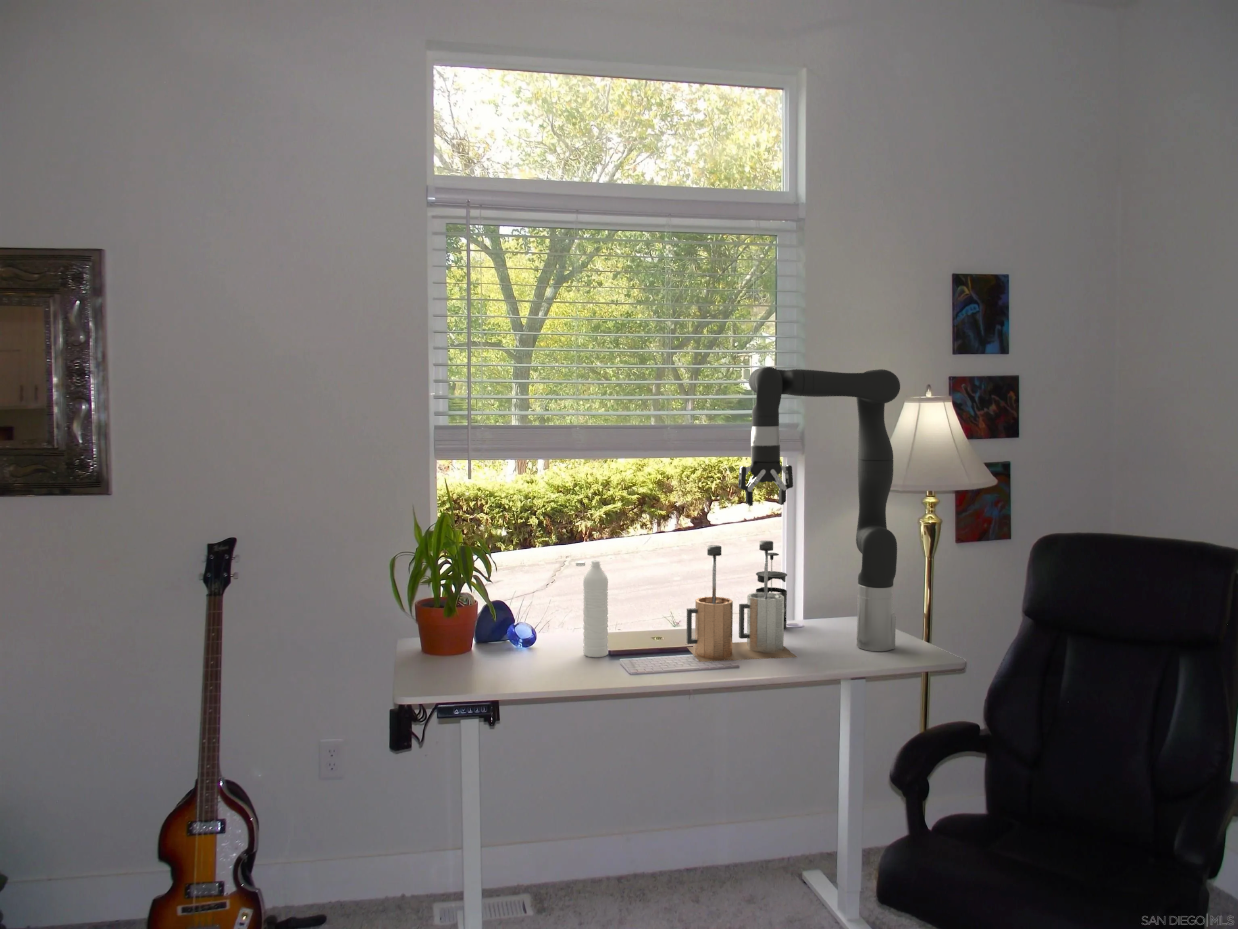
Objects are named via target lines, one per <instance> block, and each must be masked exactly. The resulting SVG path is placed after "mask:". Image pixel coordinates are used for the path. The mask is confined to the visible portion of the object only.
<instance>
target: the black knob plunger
mask: <svg viewBox="0 0 1238 929" xmlns="http://www.w3.org/2000/svg"><path fill="white" fill-rule="evenodd" d="M706 547H707V549H706V550H707V556H709V557H710V556H711V557H712V574H711V575H712V580H711V581H712V582H711V583H712V586H711V589H712V592H711V594H712V595H711V597H712V603H708V604H719V603H716V597H717V596H716V595H717V557H721V556H722V546H721V545H714V544H712V545H707V546H706Z"/></svg>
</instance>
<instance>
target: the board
mask: <svg viewBox="0 0 1238 929" xmlns="http://www.w3.org/2000/svg"><path fill="white" fill-rule="evenodd" d="M686 648H687V650H689V652H690V653H691V654H692V655H693V656H694V658H696V660H697V661H698V662H700V663H705V662H723V661H724V662H725V661H742V660H743V661H745V660H746V661H747V660H765V659H766V660H767V659H789V658H798V656H797V655H796V654H795V653H793V652H792V650H789V649H788V648H787V647H786V646H784V645H783V650H782V651H779V652H775V653H762V652H755V651H752V650H749V649H748V648H747V641H739V642H736V641H735V642H732V655H731V656H730V657H727V658H720V659H711V658H703V657H700V656H697V655H696V653H695V646H693V647H686Z"/></svg>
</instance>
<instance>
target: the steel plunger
mask: <svg viewBox="0 0 1238 929" xmlns="http://www.w3.org/2000/svg"><path fill="white" fill-rule="evenodd" d="M759 550H760V551H763V552H764V559H763V560H764V563H763V564H764V568H763V569H764V583H763V584H764V585H763V587H764V597H758V598H757V599H776V598H770V597H767V595H768V587H769V585H768V584H769V583H768V582H769V581H768V571H769V565H768V564H769V556H768V553H769V552H772V551H774V541H773V540H759Z"/></svg>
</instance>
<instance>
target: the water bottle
mask: <svg viewBox="0 0 1238 929" xmlns="http://www.w3.org/2000/svg"><path fill="white" fill-rule="evenodd" d="M589 565H590V567H589V568H588V570H587V571H586V573H585V575H584V577H583V583H582V586H583V633H582V635H583V646H582V647H583V656H585V657H589V658H603V657H606V656H607V655H608V654H609V646H608V645H609V637H608V636H609V630H608V628H609V625H608V622H609V617H608V615H609V608H608V606H609V601H608V600H609V592H608V588H609V586H608V585H609V584H608V583H609V579H608V576H607V574H606V573H605V571H604V570H603V568H602V566H601V565H602V564H601V561H600V560H591V562H590V564H589ZM575 566H576V567H586V561H583V560H580V561H579V560H578V561H575Z"/></svg>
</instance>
